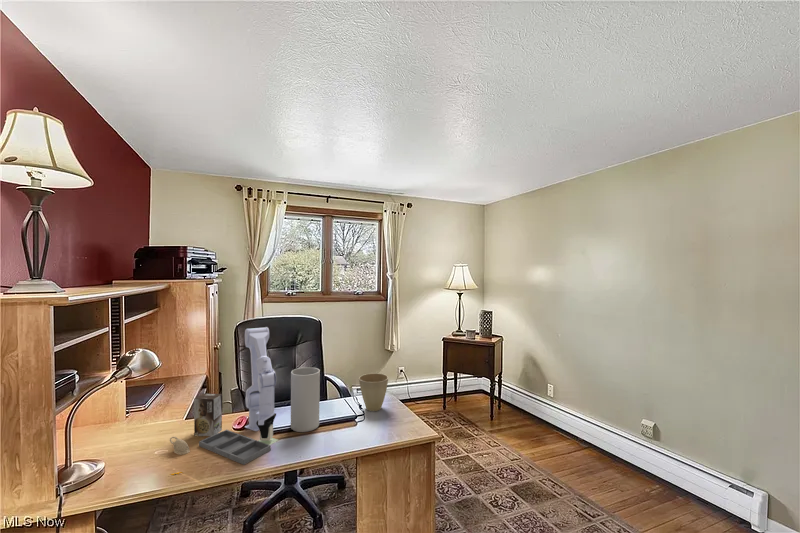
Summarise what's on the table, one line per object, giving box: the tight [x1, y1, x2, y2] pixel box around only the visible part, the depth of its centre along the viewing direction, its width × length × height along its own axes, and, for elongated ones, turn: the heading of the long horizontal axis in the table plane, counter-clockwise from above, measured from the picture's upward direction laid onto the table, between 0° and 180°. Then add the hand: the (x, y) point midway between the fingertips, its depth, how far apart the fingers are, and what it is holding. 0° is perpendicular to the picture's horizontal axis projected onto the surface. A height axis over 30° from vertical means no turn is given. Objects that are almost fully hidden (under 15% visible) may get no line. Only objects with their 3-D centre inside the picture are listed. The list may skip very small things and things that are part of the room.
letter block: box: [259, 423, 274, 441], centre depth 150 cm, size 4×4×5 cm
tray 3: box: [227, 439, 272, 466], centre depth 140 cm, size 12×9×2 cm
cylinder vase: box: [290, 366, 321, 433], centre depth 165 cm, size 12×12×25 cm
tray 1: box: [198, 429, 241, 453], centre depth 149 cm, size 12×9×2 cm
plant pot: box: [358, 372, 389, 412], centre depth 186 cm, size 15×15×16 cm
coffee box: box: [193, 393, 223, 437], centre depth 157 cm, size 9×6×16 cm
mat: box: [257, 437, 280, 446], centre depth 150 cm, size 7×7×1 cm
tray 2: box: [212, 434, 255, 459], centre depth 144 cm, size 12×9×2 cm
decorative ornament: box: [169, 436, 191, 456], centre depth 141 cm, size 4×8×5 cm, turn 63°
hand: (266, 435), depth 150 cm, fingers closed on letter block, 4 cm apart
